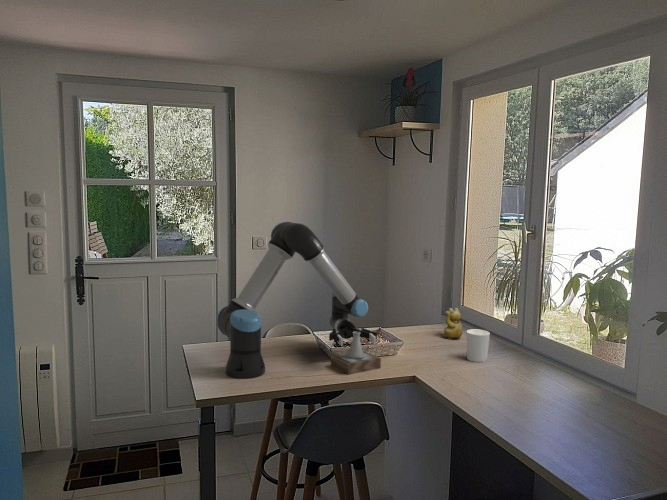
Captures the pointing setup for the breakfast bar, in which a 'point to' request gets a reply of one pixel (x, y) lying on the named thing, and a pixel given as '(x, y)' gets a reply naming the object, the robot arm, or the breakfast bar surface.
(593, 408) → the breakfast bar surface
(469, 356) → the candle holder
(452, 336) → the decorative figurine
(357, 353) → the flask
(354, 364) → the walnut stand
